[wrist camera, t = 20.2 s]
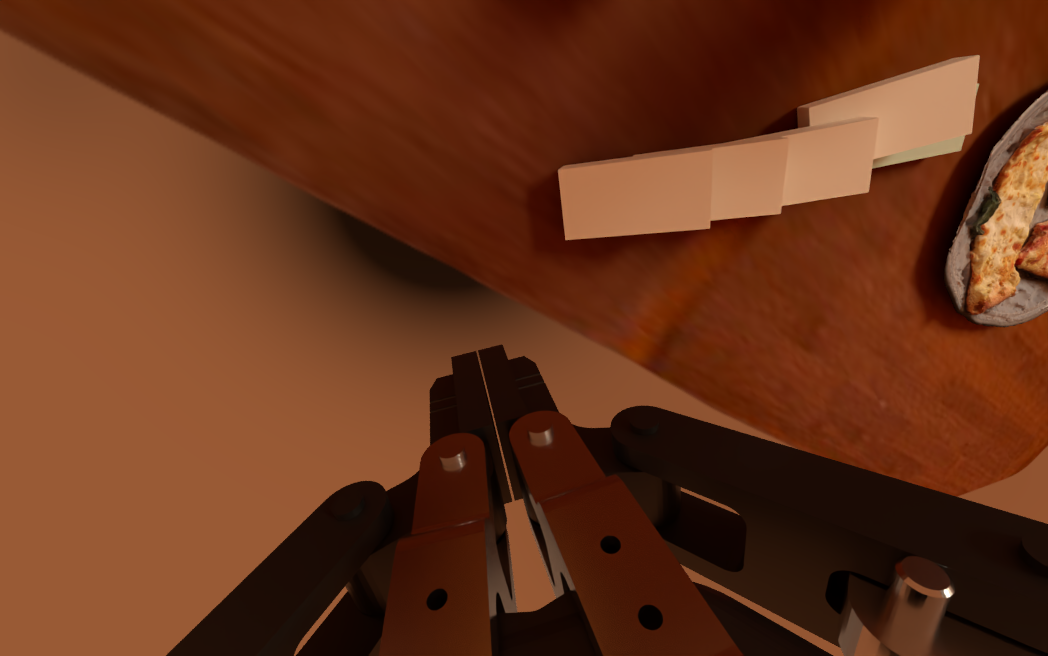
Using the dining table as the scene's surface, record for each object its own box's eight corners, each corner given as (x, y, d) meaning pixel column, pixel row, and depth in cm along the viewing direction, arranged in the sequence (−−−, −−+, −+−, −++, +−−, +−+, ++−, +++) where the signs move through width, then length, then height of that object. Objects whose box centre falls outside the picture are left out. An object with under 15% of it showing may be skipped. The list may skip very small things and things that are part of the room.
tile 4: (796, 107, 34) (954, 58, 31) (800, 171, 36) (948, 130, 33) (809, 107, 32) (979, 55, 28) (812, 175, 34) (971, 133, 30)
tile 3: (713, 144, 34) (860, 116, 31) (714, 208, 36) (851, 186, 33) (721, 148, 31) (879, 117, 29) (721, 215, 34) (868, 192, 31)
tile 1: (563, 165, 32) (708, 146, 29) (570, 231, 34) (705, 219, 31) (557, 170, 30) (713, 149, 27) (565, 240, 32) (710, 228, 29)
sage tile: (842, 105, 35) (945, 86, 36) (832, 169, 37) (929, 149, 38) (870, 103, 33) (979, 83, 34) (858, 171, 35) (960, 150, 36)
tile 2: (632, 155, 33) (776, 136, 30) (634, 220, 35) (769, 206, 33) (634, 158, 30) (789, 138, 28) (636, 227, 33) (780, 213, 30)
